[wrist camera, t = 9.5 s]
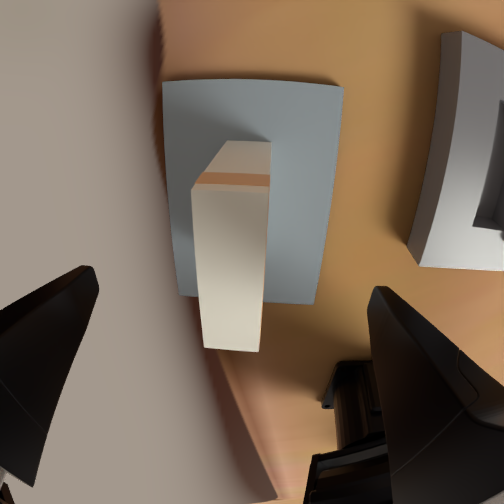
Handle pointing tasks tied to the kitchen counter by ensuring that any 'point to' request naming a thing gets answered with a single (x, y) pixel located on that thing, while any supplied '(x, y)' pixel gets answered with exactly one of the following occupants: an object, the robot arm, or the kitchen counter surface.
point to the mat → (281, 171)
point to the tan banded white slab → (232, 243)
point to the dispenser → (464, 162)
